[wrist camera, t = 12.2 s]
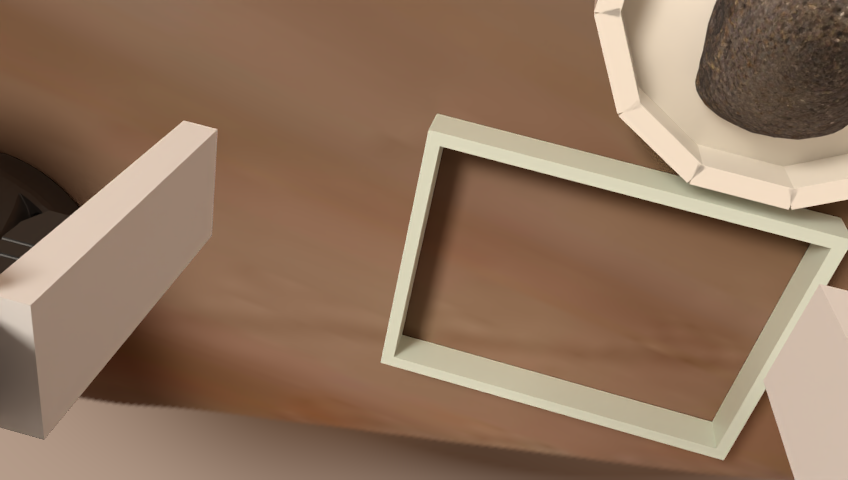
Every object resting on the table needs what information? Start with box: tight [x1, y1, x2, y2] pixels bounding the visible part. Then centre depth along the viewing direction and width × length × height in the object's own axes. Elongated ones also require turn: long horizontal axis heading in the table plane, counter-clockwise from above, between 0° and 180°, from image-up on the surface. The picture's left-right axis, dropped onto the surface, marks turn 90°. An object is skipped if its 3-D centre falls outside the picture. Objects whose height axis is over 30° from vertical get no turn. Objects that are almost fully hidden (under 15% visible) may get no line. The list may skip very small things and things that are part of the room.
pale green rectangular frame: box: [381, 114, 848, 460], centre depth 47 cm, size 24×18×2 cm
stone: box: [695, 0, 848, 140], centre depth 36 cm, size 10×8×10 cm
